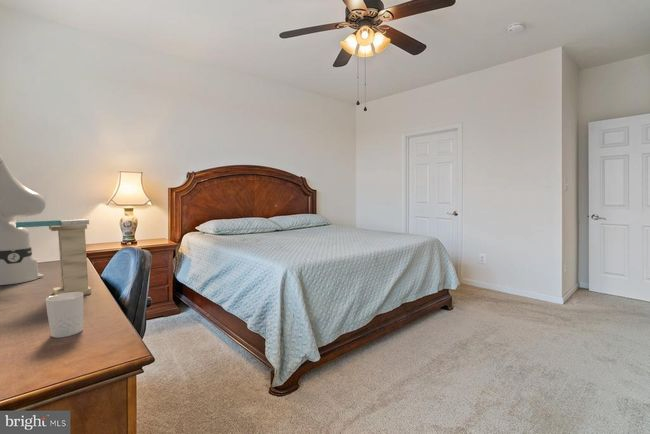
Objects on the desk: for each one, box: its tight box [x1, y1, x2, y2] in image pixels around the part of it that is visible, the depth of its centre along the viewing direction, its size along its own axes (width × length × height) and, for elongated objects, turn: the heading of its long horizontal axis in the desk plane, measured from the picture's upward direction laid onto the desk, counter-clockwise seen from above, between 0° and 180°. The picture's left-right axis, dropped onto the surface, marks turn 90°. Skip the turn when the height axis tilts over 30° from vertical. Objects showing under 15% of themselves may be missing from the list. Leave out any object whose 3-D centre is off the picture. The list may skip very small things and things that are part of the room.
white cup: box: [45, 292, 84, 339], centre depth 87 cm, size 8×8×10 cm
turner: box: [16, 218, 90, 228], centre depth 119 cm, size 20×8×2 cm, turn 134°
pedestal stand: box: [48, 224, 92, 296], centre depth 123 cm, size 12×10×26 cm
